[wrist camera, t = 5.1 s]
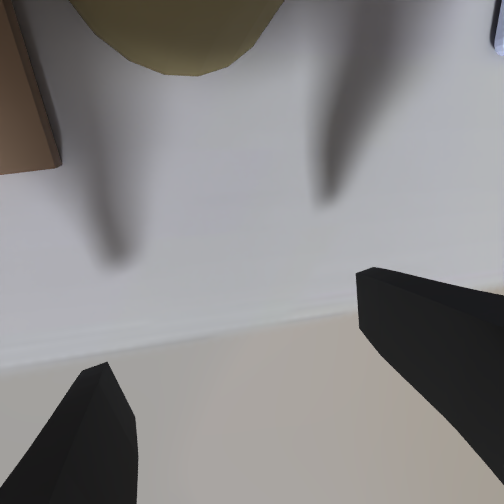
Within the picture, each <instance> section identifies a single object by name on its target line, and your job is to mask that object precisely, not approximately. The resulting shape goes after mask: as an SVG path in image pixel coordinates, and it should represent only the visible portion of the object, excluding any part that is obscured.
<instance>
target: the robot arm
mask: <svg viewBox="0 0 504 504" xmlns="http://www.w3.org/2000/svg"><path fill="white" fill-rule="evenodd" d="M494 47H495V50H496V52H497V54H498V55H501V56H504V0H502V2H501V8H500V13H499V19H498V25H497V30H496V36H495V44H494ZM356 285H357V300H358V316H359V328H360V330H361V331H362V332H363V333H364V335H365V336H366V338H367V339H368V340H369V341H370V343H371V344H372V345H373V346H374V348H375V349H376V350H377V351H378V353H379V354H380V355H381V356H382V357H383V358H384V359H385V360H386V361H387V362H388V363H389V364H390V365H391V366H392V367H393V368H394V369H395V370H396V371H397V372H398V373H400V375H401V376H402V377H403V378H404V379H405V380H406V381H407V382H409V383H410V384H411V385H412V386H413V387H414V388H415V389H416V390H417V391H418V392H419V393H420V394H421V395H422V396H423V397H424V398H425V399H426V400H427V401H428V402H429V403H430V404H431V405H432V406H434V408H436V410H438V411H439V412H440V413H441V414H442V415H443V416H444V417H445V418H446V419H447V420H448V421H449V423H451V425H452V426H453V427H454V428H455V429H456V430H457V431H458V432H459V433H460V434H461V436H462V437H463V438H464V439H465V440H466V441H467V442H468V444H469V445H470V446H471V447H472V448H473V449H474V450H475V452H476V453H477V454H478V455H479V456H480V457H481V458H482V460H483V461H484V462H485V463H486V464H487V465H488V467H489V468H490V469H491V470H492V471H493V473H494V474H495V475H496V476H497V477H498V479H499V480H500V481H501V482H502V483H503V485H504V296H503V295H498V294H493V293H488V292H483V291H478V290H473V289H469V288H464V287H460V286H455V285H451V284H447V283H442V282H438V281H434V280H430V279H426V278H422V277H418V276H413V275H409V274H405V273H401V272H396V271H392V270H387V269H382V268H376V267H372V268H370V269H367V270H364V271H361V272H358V273H356ZM137 480H138V446H137V433H136V421H135V416H134V414H133V412H132V410H131V408H130V406H129V404H128V402H127V400H126V398H125V396H124V394H123V392H122V390H121V388H120V386H119V384H118V382H117V380H116V378H115V376H114V374H113V372H112V370H111V368H110V366H109V364H108V362H105V363H102V364H100V365H97V366H94V367H91V368H88V369H85V370H83V371H82V372H81V373H80V375H79V376H78V377H77V379H76V380H75V382H74V383H73V384H72V386H71V387H70V389H69V390H68V392H67V393H66V395H65V396H64V398H63V400H62V401H61V403H60V404H59V405H58V407H57V408H56V410H55V411H54V413H53V415H52V416H51V417H50V419H49V420H48V422H47V423H46V425H45V426H44V428H43V429H42V430H41V432H40V433H39V435H38V436H37V438H36V439H35V441H34V442H33V444H32V445H31V447H30V448H29V450H28V451H27V452H26V454H25V455H24V456H23V458H22V459H21V460H20V462H19V463H18V465H17V466H16V467H15V469H14V470H13V471H12V473H11V474H10V475H9V477H8V478H7V479H6V481H5V482H4V483H3V485H2V486H1V487H0V504H136V502H137Z"/></svg>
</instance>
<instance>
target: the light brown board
mask: <svg viewBox="0 0 504 504" xmlns="http://www.w3.org/2000/svg"><path fill="white" fill-rule="evenodd" d="M61 165H62V162H61V159H60V156H59V153H58V149H57V146H56V143H55V140H54V137H53V133H52V130H51V127H50V124H49V120H48V117H47V114H46V111H45V108H44V104H43V101H42V98H41V95H40V91H39V88H38V85H37V82H36V79H35V75H34V72H33V69H32V66H31V62H30V59H29V56H28V53H27V50H26V46H25V43H24V40H23V37H22V33H21V30H20V27H19V24H18V21H17V17H16V14H15V11H14V8H13V4H12V1H11V0H0V175H4V174H12V173H20V172H29V171H37V170H45V169H54V168H57V167H59V166H61Z"/></svg>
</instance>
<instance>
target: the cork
mask: <svg viewBox="0 0 504 504" xmlns="http://www.w3.org/2000/svg"><path fill="white" fill-rule="evenodd" d="M69 1H70V3H71V4H72V5H73V6H74V8H75V9H76V10H77V12H78V13H79V14H80V16H81V17H82V18H83V19H84V21H85V22H86V23H87V25H88V26H89V27H90V28H91V30H92V31H93V32H94V34H95V35H97V36H98V37H99V38H101V39H102V40H103V41H104V42H106V43H107V44H108V45H110V46H111V47H112V48H113V49H115V50H116V51H117V52H119V53H120V54H121V55H122V56H124V57H125V58H126V59H128V60H129V61H131V62H134V63H136V64H139V65H141V66H144V67H146V68H149V69H151V70H154V71H156V72H159V73H161V74H164V75H180V76H201V75H204V74H207V73H210V72H213V71H216V70H219V69H222V68H226V67H228V66H229V65H231V64H232V63H233V62H234V61H236V60H237V59H238V58H239V57H241V56H242V55H243V54H244V53H246V52H247V51H248V50H249V49H251V48H252V47H253V46H254V44H255V43H256V41H257V40H258V38H259V37H260V35H261V34H262V32H263V31H264V30H265V28H266V27H267V25H268V24H269V22H270V21H271V19H272V18H273V16H274V15H275V13H276V12H277V10H278V9H279V7H280V6H281V5H282V3H283V2H284V0H69Z"/></svg>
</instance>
